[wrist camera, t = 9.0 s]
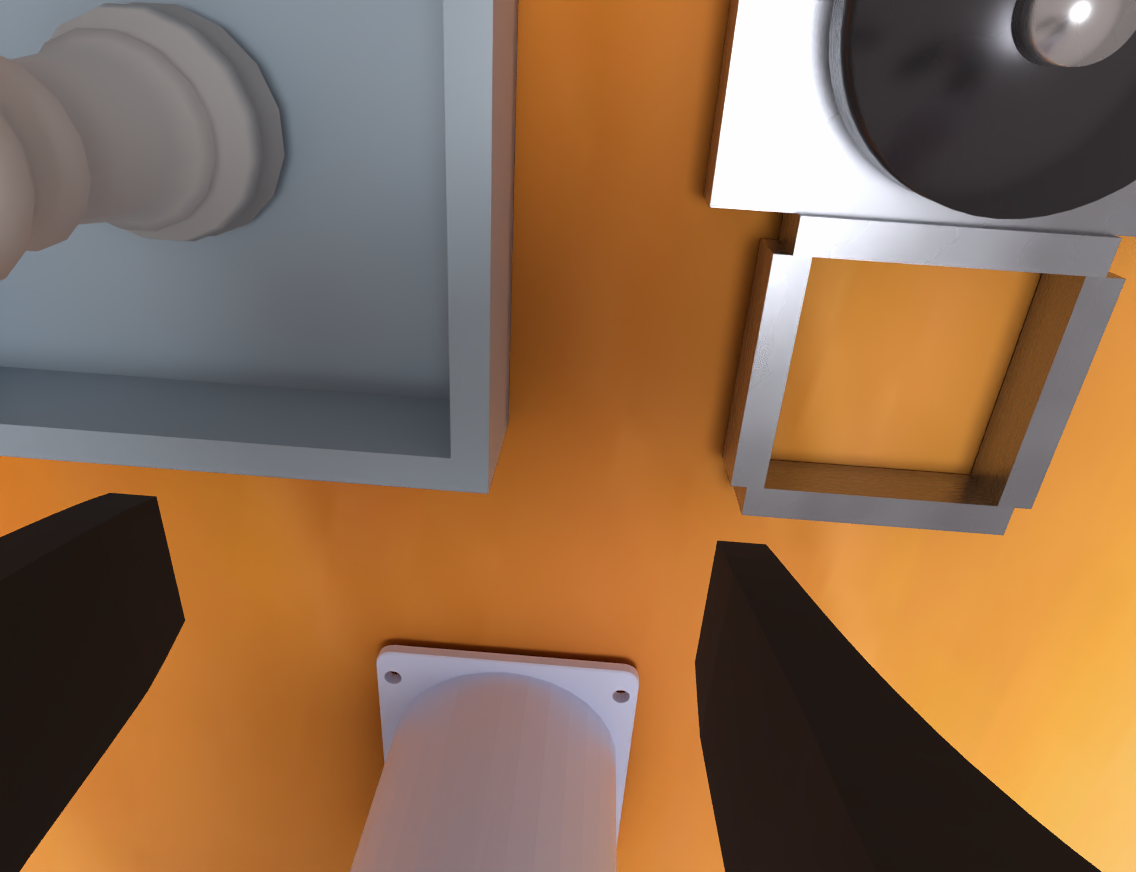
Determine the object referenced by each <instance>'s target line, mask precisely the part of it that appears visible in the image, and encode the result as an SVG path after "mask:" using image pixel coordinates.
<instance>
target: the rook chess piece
mask: <svg viewBox="0 0 1136 872" xmlns="http://www.w3.org/2000/svg"><path fill="white" fill-rule="evenodd" d="M284 156H285V154H284V146H283V137H282V129H281V121H280V112H279V108H278V106H277V104H276V102H275V100H274V98H273V96H272V94H271V92H270V90H269V87H268V85H267V83H266V81H265V79H264V77H263V75H262V73H261V71H260V69H259V67H258V65H257V63H256V62H255V61H254V60H253V59H252V58H251V57H250V56H249V55H248V54H247V53H246V52H245V51H244V50H243V49H242V48H241V47H240V46H239V45H238V44H237V43H236V41H235V40H234V39H233V38H232V37H231V36H230V35H229V34H228V33H227V32H226V31H225V30H224V29H223V28H222V27H221V26H219V25H217V24H215V23H213V22H211V21H209V20H207V19H205V18H203V17H201V16H199V15H197V14H195V13H193V12H191V11H189V10H187V9H185V8H183V7H181V6H179V5H177V4H161V3H142V2H131V3H129V4H118V3H104V4H102V5H100V6H98V7H96V8H94V9H92V10H90V11H88V12H86V13H84V14H82V15H79V16H77V17H75V18H73V19H71V20H69V21H67V22H65V23H63V24H61V25H59V26H58V27H57V29H56V30H55V32H54V33H53V35H52V36H51V38H50V39H49V41H47V42H45V43H44V45H43V46H42V48H41V49H40V51H39V52H38V53H37V54H32V55H28V56H23V57H19V58H14V59H7V58H5V57H3V56H1V55H0V281H1V280H3V279H6V277H7V276H8V275H9V273H10V272H11V271H12V269H13V268H14V267H15V265H16V264H17V262H18V261H19V260H20V258H21V257H22V256H23V254H24V253H25V252H26V251H35V252H38V251H41V250H43V249H45V248H48V247H50V246H53V245H55V244H58V243H60V242H63V241H65V240H67V239H68V238H69V236H70V235H71V234H72V232H73V231H74V230H75V228H76V227H77V226H78V225H80V224H91V223H103V222H107V223H109V224H111V225H113V226H115V227H118V228H120V229H124V230H127V231H129V232H131V233H133V234H135V235H138V236H140V237H142V238H148V239H160V240H176V241H192V242H194V241H197V240H199V239H202V238H204V237H207V236H217V235H220V234H222V233H225V232H227V231H230V230H233V229H235V228H238V227H240V226H243V225H245V224H248V223H250V222H251V221H252V219H253V218H254V217H255V216H256V215H257V214H258V213H259V211H260V210H261V209H262V208H263V207H264V206H265V205H266V203H267V202H268V201H269V200H270V199H271V198H272V197H273V195H274V193H275V189H276V185H277V182H278V178H279V174H280V171H281V167H282V163H283V160H284Z"/></svg>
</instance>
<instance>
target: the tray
mask: <svg viewBox="0 0 1136 872" xmlns="http://www.w3.org/2000/svg"><path fill="white" fill-rule="evenodd" d="M131 2H142V3H161V4H177V5H179V6H181V7H183V8H185V9H187V10H189V11H191V12H193V13H195V14H197V15H199V16H201V17H203V18H205V19H207V20H209V21H211V22H213V23H215V24H217V25H219V26H221V27H222V28H223V29H224V30H225V31H226V32H227V33H228V34H229V35H230V36H231V37H232V38H233V39H234V40H235V41H236V43H237V44H238V45H239V46H240V47H241V48H242V49H243V50H244V51H245V52H246V53H247V54H248V55H249V56H250V57H251V58H252V59H253V60H254V61H255V62H256V63H257V65H258V67H259V69H260V71H261V73H262V75H263V77H264V79H265V81H266V83H267V85H268V87H269V90H270V92H271V94H272V96H273V98H274V100H275V102H276V104H277V106H278V108H279V112H280V121H281V129H282V137H283V146H284V154H285V156H284V160H283V163H282V167H281V171H280V174H279V178H278V182H277V185H276V189H275V193H274V195H273V197H272V198H271V199H270V200H269V201H268V202H267V203H266V205H265V206H264V207H263V208H262V209H261V210H260V211H259V213H258V214H257V215H256V216H255V217H254V218H253V219H252V221H251V222H250V223H248V224H245V225H243V226H240V227H238V228H235V229H233V230H230V231H227V232H225V233H222V234H220V235H217V236H207V237H204V238H202V239H199V240H197V241H194V242H192V241H176V240H160V239H148V238H142V237H140V236H138V235H135V234H133V233H131V232H129V231H127V230H124V229H120V228H118V227H115V226H113V225H111V224H109V223H107V222H103V223H91V224H80V225H78V226H77V227H76V228H75V230H74V231H73V232H72V234H71V235H70V236H69V238H68V239H67V240H65V241H63V242H60V243H58V244H55V245H53V246H50V247H48V248H45V249H43V250H41V251H38V252H35V251H26V252H25V253H24V254H23V256H22V257H21V258H20V260H19V261H18V262H17V264H16V265H15V267H14V268H13V269H12V271H11V272H10V273H9V275H8V276H7V277H6V279H3V280H1V281H0V456H9V457H22V458H35V459H48V460H60V461H73V462H86V463H99V464H112V465H125V466H138V467H151V468H163V469H176V470H189V471H202V472H215V473H228V474H241V475H254V476H266V477H279V478H292V479H305V480H318V481H331V482H344V483H357V484H369V485H382V486H395V487H408V488H421V489H434V490H447V491H460V492H472V493H485V494H488V493H489V489H490V486H491V482H492V479H493V475H494V472H495V468H496V465H497V461H498V458H499V454H500V451H501V447H502V444H503V440H504V437H505V433H506V430H507V426H508V422H509V379H510V336H511V293H512V250H513V207H514V164H515V121H516V77H517V34H518V0H0V55H1V56H3V57H5V58H7V59H14V58H19V57H23V56H28V55H32V54H37V53H38V52H39V51H40V49H41V48H42V46H43V45H44V43H45V42H47V41H49V39H50V38H51V36H52V35H53V33H54V32H55V30H56V29H57V27H58V26H59V25H61V24H63V23H65V22H67V21H69V20H71V19H73V18H75V17H77V16H79V15H82V14H84V13H86V12H88V11H90V10H92V9H94V8H96V7H98V6H100V5H102V4H104V3H118V4H129V3H131Z"/></svg>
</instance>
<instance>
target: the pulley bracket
mask: <svg viewBox="0 0 1136 872" xmlns="http://www.w3.org/2000/svg"><path fill="white" fill-rule="evenodd" d="M703 198H704V199H705V201H706V202H707V204H708V205H709V207H714V208H728V209H743V210H757V211H772V212H784V213H783V218H782V223H781V229H780V234H779V239H778V240H773V239H760V245H759V251H758V256H757V262H756V268H755V273H754V279H753V285H752V290H751V296H750V302H749V308H748V313H747V319H746V325H745V330H744V336H743V342H742V347H741V353H740V359H739V364H738V370H737V376H736V381H735V387H734V393H733V399H732V404H731V410H730V416H729V421H728V427H727V433H726V438H725V444H724V450H723V455H722V457H723V460H724V464H725V467H726V471H727V475H728V478H729V482H730V485H731V486H734V490H735V493H736V497H737V500H738V504H739V507H740V511H741V514H742V515H749V516H762V517H775V518H788V519H801V520H814V521H827V522H840V523H852V524H865V525H878V526H891V527H904V528H917V529H930V530H942V531H955V532H968V533H981V534H994V535H1004V533H1005V530H1006V528H1007V525H1008V523H1009V520H1010V518H1011V515H1012V512H1013V510H1014V508H1025V509H1031V508H1032V506H1033V504H1034V501H1035V499H1036V496H1037V494H1038V491H1039V489H1040V486H1041V484H1042V482H1043V479H1044V477H1045V474H1046V472H1047V469H1048V467H1049V465H1050V462H1051V460H1052V457H1053V455H1054V452H1055V450H1056V448H1057V445H1058V443H1059V440H1060V438H1061V435H1062V433H1063V430H1064V428H1065V426H1066V423H1067V421H1068V418H1069V416H1070V413H1071V411H1072V409H1073V406H1074V404H1075V401H1076V399H1077V396H1078V394H1079V392H1080V389H1081V387H1082V384H1083V382H1084V379H1085V377H1086V375H1087V372H1088V370H1089V367H1090V365H1091V362H1092V360H1093V357H1094V355H1095V353H1096V350H1097V348H1098V345H1099V343H1100V340H1101V338H1102V336H1103V333H1104V331H1105V328H1106V326H1107V323H1108V321H1109V319H1110V316H1111V314H1112V311H1113V309H1114V306H1115V304H1116V301H1117V299H1118V297H1119V294H1120V292H1121V289H1122V287H1123V284H1124V282H1125V280H1126V279H1125V278H1122V277H1120V276H1117V275H1115V274H1113V273H1110V272H1108V271H1109V269H1110V266H1111V264H1112V261H1113V259H1114V256H1115V254H1116V251H1117V249H1118V246H1119V244H1120V241H1121V239H1122V238H1120V237H1117V236H1114V235H1119V236H1134V237H1136V0H730V8H729V15H728V22H727V30H726V37H725V44H724V52H723V59H722V66H721V73H720V81H719V88H718V95H717V103H716V110H715V117H714V124H713V132H712V139H711V146H710V154H709V161H708V168H707V175H706V183H705V190H704V197H703ZM812 257H820V258H834V259H848V260H863V261H877V262H891V263H905V264H919V265H934V266H948V267H962V268H976V269H991V270H1005V271H1019V272H1033V273H1042V276H1041V279H1040V282H1039V284H1038V287H1037V290H1036V293H1035V296H1034V298H1033V301H1032V304H1031V307H1030V310H1029V313H1028V315H1027V318H1026V321H1025V324H1024V327H1023V329H1022V332H1021V335H1020V338H1019V341H1018V343H1017V346H1016V349H1015V352H1014V355H1013V357H1012V360H1011V363H1010V366H1009V369H1008V371H1007V374H1006V377H1005V380H1004V383H1003V385H1002V388H1001V391H1000V394H999V397H998V399H997V402H996V405H995V408H994V411H993V413H992V416H991V419H990V422H989V425H988V427H987V430H986V433H985V436H984V439H983V441H982V444H981V447H980V450H979V453H978V455H977V458H976V461H975V464H974V467H973V469H972V472H971V475H963V474H950V473H936V472H923V471H910V470H897V469H884V468H871V467H858V466H845V465H831V464H818V463H805V462H792V461H779V460H770V457H771V452H772V447H773V442H774V438H775V433H776V428H777V423H778V419H779V414H780V409H781V404H782V399H783V395H784V390H785V385H786V380H787V376H788V371H789V366H790V361H791V357H792V352H793V347H794V342H795V338H796V333H797V328H798V323H799V319H800V314H801V309H802V304H803V300H804V295H805V290H806V285H807V281H808V276H809V271H810V266H811V261H812Z"/></svg>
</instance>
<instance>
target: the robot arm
mask: <svg viewBox="0 0 1136 872" xmlns="http://www.w3.org/2000/svg"><path fill="white" fill-rule="evenodd" d="M184 622H185V618H184V613H183V609H182V605H181V601H180V596H179V592H178V588H177V583H176V579H175V575H174V571H173V566H172V562H171V558H170V553H169V549H168V545H167V541H166V536H165V532H164V528H163V523H162V519H161V515H160V511H159V506H158V502H157V498H156V497H155V496H142V495H129V494H117V493H108V494H105V495H102V496H99V497H97V498H94V499H91V500H88V501H85V502H83V503H80V504H77V505H75V506H72V507H70V508H68V509H65V510H63V511H60V512H58V513H55V514H53V515H51V516H48V517H46V518H44V519H41V520H39V521H37V522H34V523H32V524H30V525H27V526H25V527H23V528H21V529H18V530H16V531H14V532H12V533H9V534H7V535H5V536H3V537H0V872H20V870H21V869H22V867H23V866H24V864H25V863H26V861H27V860H28V858H29V857H30V856H31V854H32V853H33V851H34V850H35V849H36V847H37V846H38V844H39V843H40V842H41V840H42V839H43V838H44V836H45V835H46V833H47V832H48V831H49V829H50V828H51V826H52V825H53V824H54V822H55V821H56V819H57V818H58V817H59V815H60V814H61V812H62V811H63V810H64V808H65V807H66V806H67V804H68V803H69V801H70V800H71V799H72V797H73V796H74V794H75V793H76V792H77V790H78V789H79V787H80V786H81V785H82V783H83V782H84V781H85V779H86V778H87V776H88V775H89V774H90V772H91V771H92V769H93V768H94V767H95V765H96V764H97V763H98V761H99V760H100V758H101V757H102V756H103V754H104V753H105V751H106V750H107V749H108V747H109V746H110V744H111V743H112V742H113V740H114V739H115V737H116V736H117V734H118V733H119V732H120V730H121V729H122V727H123V726H124V725H125V723H126V722H127V720H128V719H129V717H130V716H131V715H132V713H133V712H134V710H135V709H136V708H137V706H138V705H139V703H140V702H141V700H142V699H143V697H144V696H145V694H146V693H147V691H148V690H149V688H150V686H151V684H152V683H153V681H154V679H155V677H156V675H157V674H158V672H159V670H160V668H161V666H162V665H163V663H164V661H165V659H166V657H167V655H168V653H169V651H170V649H171V647H172V645H173V643H174V641H175V639H176V637H177V635H178V634H179V632H180V630H181V628H182V626H183V624H184ZM376 667H377V679H378V691H379V703H380V715H381V727H382V740H383V752H384V767H383V771H382V774H381V777H380V780H379V783H378V786H377V789H376V792H375V795H374V798H373V802H372V805H371V808H370V811H369V814H368V817H367V820H366V823H365V826H364V829H363V832H362V836H361V839H360V842H359V845H358V848H357V851H356V854H355V857H354V860H353V863H352V867H351V870H350V872H617V864H616V847H617V840H618V832H619V825H620V818H621V811H622V804H623V797H624V789H625V782H626V775H627V768H628V761H629V753H630V746H631V739H632V732H633V725H634V718H635V710H636V703H637V696H638V689H639V675H638V672H637V670H636V669H635V668H634V667H632V666H631V665H627V664H621V663H609V662H597V661H585V660H573V659H560V658H548V657H536V656H524V655H512V654H500V653H487V652H475V651H463V650H451V649H439V648H427V647H414V646H402V645H388V646H385V647H383V648H382V649H381V650H380V652H379V655H378V657H377V661H376ZM695 669H696V685H697V702H698V715H699V728H700V739H701V744H702V750H703V756H704V761H705V767H706V772H707V777H708V783H709V788H710V794H711V799H712V804H713V810H714V815H715V820H716V825H717V831H718V836H719V841H720V847H721V852H722V857H723V862H724V868H725V872H1101V871H1100V870H1099V869H1097V868H1096V867H1095V866H1093V865H1092V864H1091V863H1090V862H1088V861H1087V860H1086V859H1084V858H1083V857H1082V856H1080V855H1079V854H1078V853H1077V852H1075V851H1074V850H1073V849H1071V848H1070V847H1069V846H1068V845H1066V844H1065V843H1064V842H1063V841H1062V840H1060V839H1059V838H1058V837H1057V836H1055V835H1054V834H1053V833H1052V832H1050V831H1049V830H1048V829H1047V828H1046V827H1044V826H1043V825H1042V824H1041V823H1039V822H1038V821H1037V820H1036V819H1034V818H1033V817H1032V816H1031V815H1030V814H1028V813H1027V812H1026V811H1025V810H1024V809H1023V808H1022V807H1020V806H1019V805H1018V804H1017V803H1016V802H1015V801H1013V800H1012V799H1011V798H1010V797H1009V796H1008V795H1007V794H1005V793H1004V792H1003V791H1002V790H1001V789H1000V788H999V787H997V786H996V785H995V784H994V783H993V782H992V781H990V780H989V779H988V778H987V777H986V776H985V775H984V774H982V773H981V772H980V771H979V770H978V769H977V768H975V767H974V766H973V765H972V764H971V763H970V762H969V761H967V760H966V759H965V758H964V757H963V756H962V755H961V754H960V753H959V752H958V751H957V750H956V749H954V748H953V747H952V746H951V745H950V744H949V743H948V742H947V741H946V740H945V739H944V738H943V737H942V736H940V735H939V734H938V733H937V732H936V731H935V730H934V729H933V728H932V727H931V726H930V725H929V724H928V723H927V722H926V721H925V720H924V719H923V718H922V717H921V716H920V715H919V714H918V713H917V712H916V711H915V710H914V709H913V708H912V707H911V706H910V705H909V704H908V703H907V702H906V701H905V700H904V699H903V698H902V697H901V696H900V695H899V694H898V693H897V692H896V691H895V690H894V689H893V688H892V687H891V686H890V685H889V684H888V683H887V682H886V681H885V680H884V679H883V678H882V677H881V676H880V675H879V674H878V672H877V671H876V670H875V669H874V668H873V667H872V666H871V665H870V664H869V663H868V662H867V661H866V660H865V659H864V658H863V656H862V655H861V654H860V653H859V652H858V651H857V650H856V649H855V648H854V647H853V646H852V644H851V643H850V642H849V641H848V640H847V639H846V638H845V637H844V636H843V634H842V633H841V632H840V631H839V630H838V629H837V628H836V627H835V625H834V624H833V623H832V622H831V621H830V620H829V619H828V617H827V616H826V615H825V614H824V613H823V612H822V610H821V609H820V608H819V607H818V606H817V605H816V603H815V602H814V601H813V600H812V599H811V597H810V596H809V595H808V594H807V593H806V592H805V590H804V589H803V588H802V587H801V586H800V584H799V583H798V582H797V581H796V580H795V578H794V577H793V576H792V575H791V574H790V572H789V571H788V570H787V569H786V568H785V566H784V565H783V564H782V563H781V562H780V560H779V559H778V558H777V557H776V556H775V555H774V553H773V552H772V551H771V550H770V549H769V548H768V546H767V545H766V544H753V543H740V542H728V541H717V545H716V551H715V556H714V562H713V567H712V573H711V578H710V584H709V589H708V594H707V600H706V605H705V611H704V616H703V622H702V627H701V633H700V638H699V644H698V649H697V654H696V660H695ZM390 671H394V672H397V673H398V674H393V673H391V672H390ZM619 690H623V691H626V692H625V693H618V692H616V691H619Z"/></svg>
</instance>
